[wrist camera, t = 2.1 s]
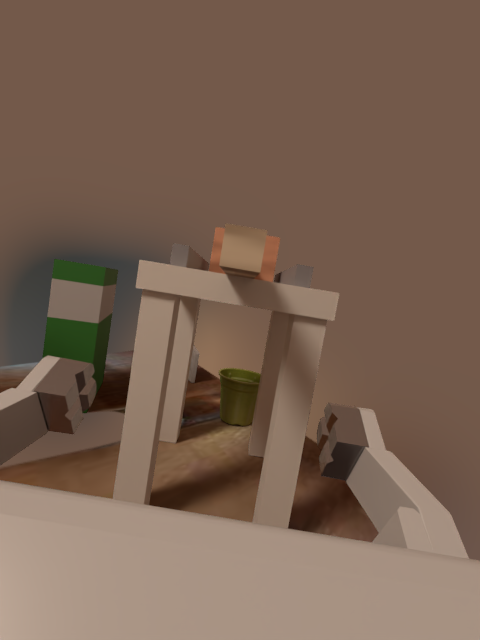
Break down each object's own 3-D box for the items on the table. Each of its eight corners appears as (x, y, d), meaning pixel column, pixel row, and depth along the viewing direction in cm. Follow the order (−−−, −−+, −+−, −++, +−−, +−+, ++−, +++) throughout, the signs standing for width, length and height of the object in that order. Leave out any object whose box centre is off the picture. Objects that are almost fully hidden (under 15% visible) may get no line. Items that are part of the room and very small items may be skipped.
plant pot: (270, 423, 65) (278, 379, 64) (241, 435, 57) (249, 385, 57) (231, 407, 71) (238, 366, 70) (200, 416, 63) (208, 370, 62)
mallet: (305, 280, 20) (324, 178, 20) (173, 257, 20) (188, 155, 20) (267, 287, 49) (274, 245, 49) (212, 277, 49) (219, 236, 49)
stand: (289, 553, 32) (343, 270, 30) (102, 523, 32) (142, 237, 30) (269, 448, 54) (300, 279, 52) (158, 429, 54) (183, 260, 52)
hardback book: (65, 378, 71) (79, 263, 69) (102, 381, 73) (118, 270, 71) (36, 409, 54) (54, 258, 52) (86, 413, 56) (105, 267, 54)
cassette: (196, 383, 83) (201, 353, 83) (188, 383, 83) (193, 352, 82) (190, 370, 95) (194, 343, 94) (183, 370, 94) (188, 343, 94)
